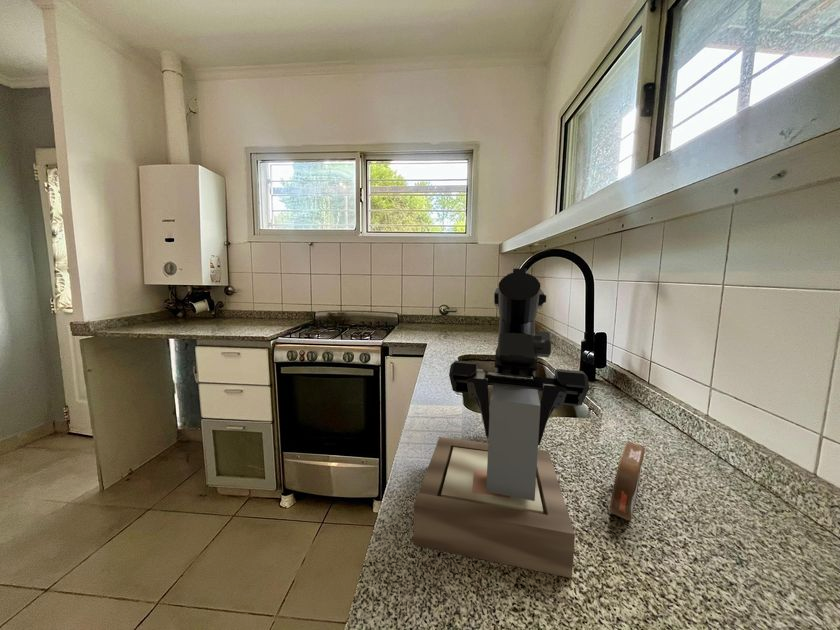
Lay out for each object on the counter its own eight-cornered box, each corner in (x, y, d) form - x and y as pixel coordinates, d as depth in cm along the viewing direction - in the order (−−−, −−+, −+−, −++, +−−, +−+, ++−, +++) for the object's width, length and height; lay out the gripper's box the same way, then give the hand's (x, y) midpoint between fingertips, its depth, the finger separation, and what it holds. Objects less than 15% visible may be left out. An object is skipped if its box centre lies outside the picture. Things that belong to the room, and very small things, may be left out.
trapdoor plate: (453, 452, 56) (453, 446, 56) (531, 463, 53) (532, 457, 53) (440, 501, 43) (441, 493, 43) (542, 518, 40) (543, 510, 40)
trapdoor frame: (438, 465, 60) (439, 437, 59) (546, 481, 56) (548, 450, 55) (413, 545, 41) (414, 505, 41) (571, 578, 37) (575, 534, 37)
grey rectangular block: (489, 466, 48) (493, 385, 46) (532, 473, 46) (537, 389, 45) (486, 491, 42) (490, 399, 41) (534, 501, 40) (540, 405, 39)
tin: (621, 477, 57) (625, 431, 57) (643, 484, 55) (647, 437, 55) (606, 524, 46) (610, 468, 45) (632, 536, 44) (637, 477, 43)
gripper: (453, 307, 48) (433, 405, 39) (591, 313, 43) (607, 427, 33) (460, 349, 56) (445, 438, 47) (576, 357, 51) (586, 459, 42)
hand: (512, 440), depth 42 cm, fingers closed on grey rectangular block, 6 cm apart
